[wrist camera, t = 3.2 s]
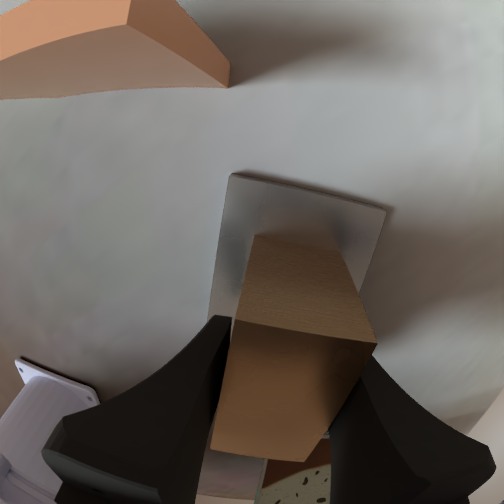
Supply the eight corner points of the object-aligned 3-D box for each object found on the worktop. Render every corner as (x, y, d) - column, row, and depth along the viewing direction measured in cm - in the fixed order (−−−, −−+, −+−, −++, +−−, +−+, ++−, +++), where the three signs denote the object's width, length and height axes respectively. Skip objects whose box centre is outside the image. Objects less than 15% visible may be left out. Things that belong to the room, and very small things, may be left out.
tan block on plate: (313, 386, 15) (318, 483, 10) (202, 366, 15) (174, 462, 10) (382, 207, 11) (455, 279, 6) (231, 173, 11) (185, 220, 6)
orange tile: (227, 88, 10) (126, 24, 3) (57, 98, 10) (-92, 113, 3) (230, 61, 10) (140, -39, 2) (59, 76, 10) (-88, 78, 3)
